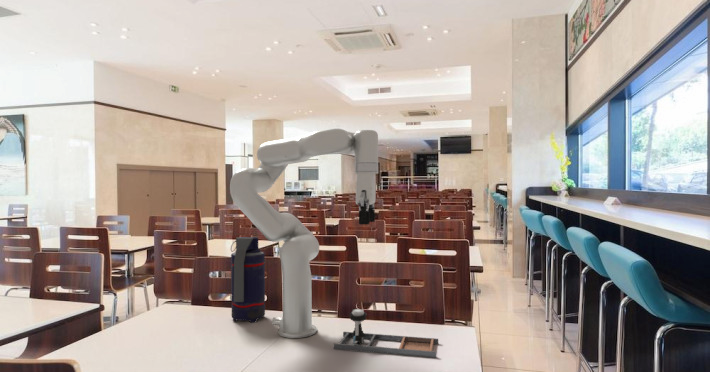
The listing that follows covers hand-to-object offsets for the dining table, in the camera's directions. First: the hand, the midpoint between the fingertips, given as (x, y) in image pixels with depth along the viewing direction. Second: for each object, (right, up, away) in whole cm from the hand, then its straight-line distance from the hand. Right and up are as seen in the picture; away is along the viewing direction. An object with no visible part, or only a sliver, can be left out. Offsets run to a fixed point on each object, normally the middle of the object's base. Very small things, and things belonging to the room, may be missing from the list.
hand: (367, 223), depth 139 cm
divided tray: (+6, -37, -7) cm, 38 cm away
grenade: (-43, -37, +20) cm, 60 cm away
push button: (-3, -37, -5) cm, 37 cm away
